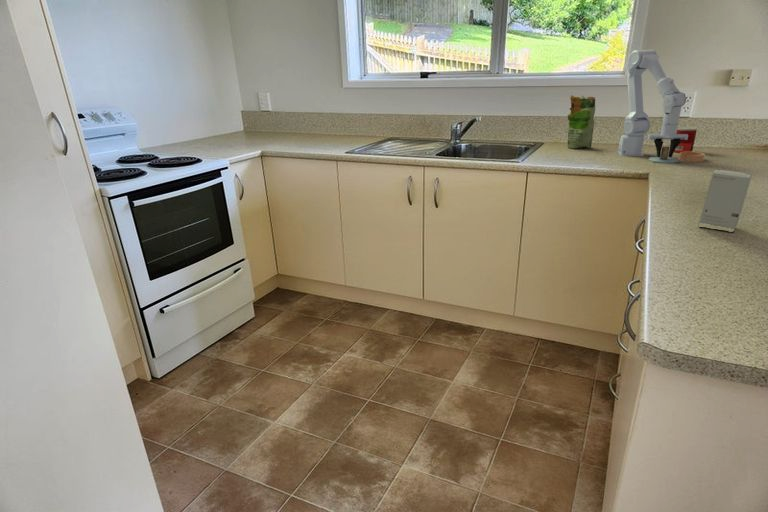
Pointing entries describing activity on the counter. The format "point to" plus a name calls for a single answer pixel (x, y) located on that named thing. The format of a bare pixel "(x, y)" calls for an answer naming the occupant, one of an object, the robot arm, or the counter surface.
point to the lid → (664, 157)
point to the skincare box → (725, 198)
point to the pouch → (581, 122)
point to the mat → (657, 162)
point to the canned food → (686, 144)
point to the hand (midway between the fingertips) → (664, 156)
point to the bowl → (691, 156)
